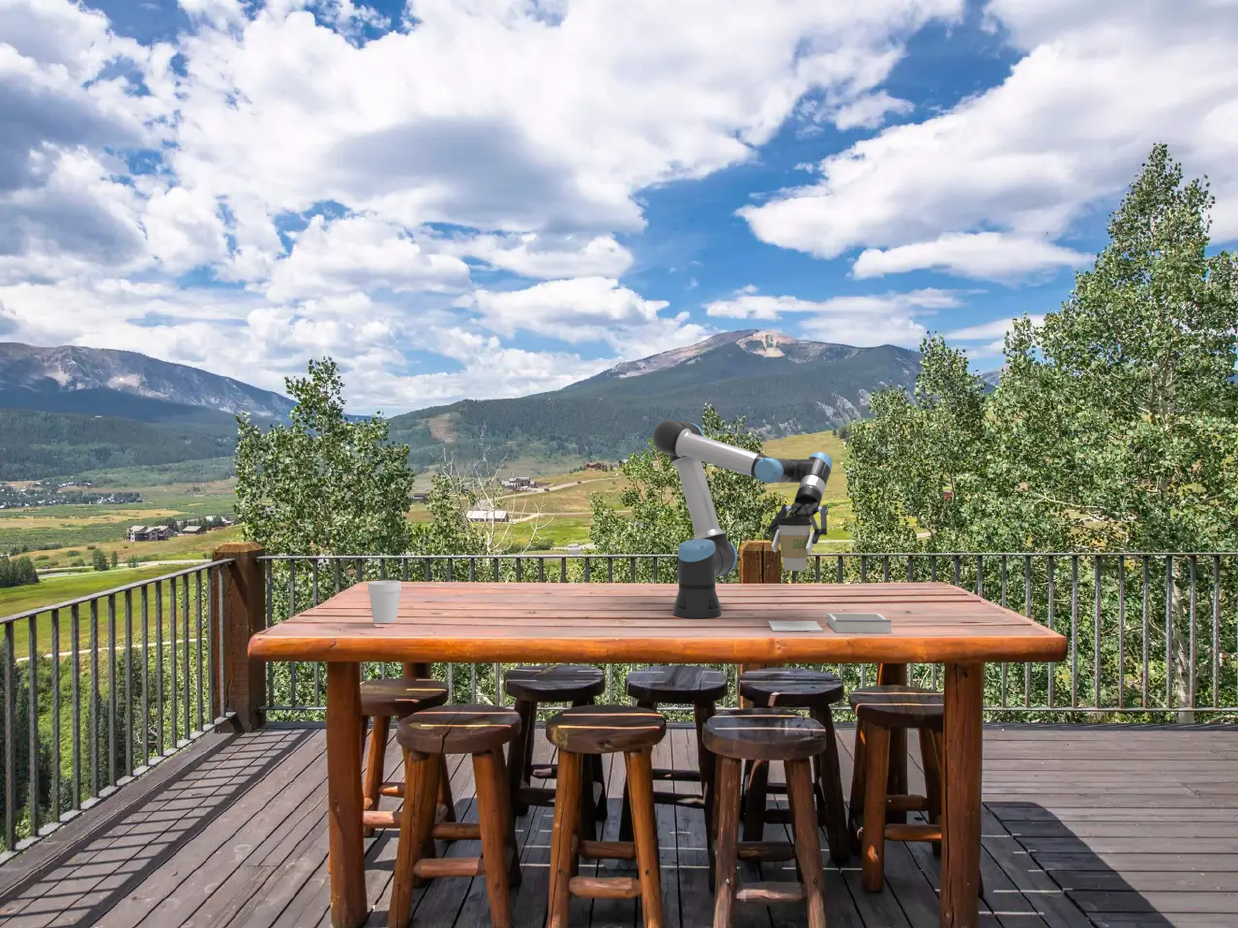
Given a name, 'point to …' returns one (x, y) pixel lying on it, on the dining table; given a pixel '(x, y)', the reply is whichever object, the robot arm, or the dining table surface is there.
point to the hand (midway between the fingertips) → (790, 550)
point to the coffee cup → (794, 542)
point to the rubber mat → (795, 626)
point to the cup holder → (858, 623)
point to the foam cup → (384, 600)
